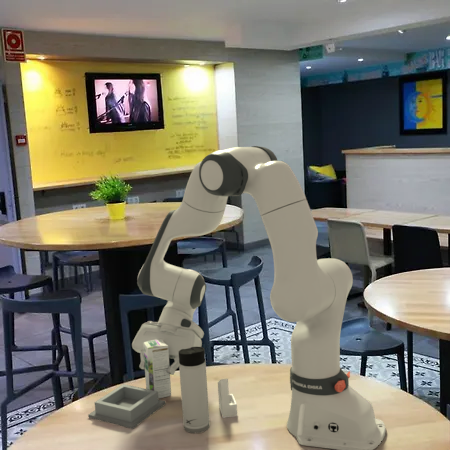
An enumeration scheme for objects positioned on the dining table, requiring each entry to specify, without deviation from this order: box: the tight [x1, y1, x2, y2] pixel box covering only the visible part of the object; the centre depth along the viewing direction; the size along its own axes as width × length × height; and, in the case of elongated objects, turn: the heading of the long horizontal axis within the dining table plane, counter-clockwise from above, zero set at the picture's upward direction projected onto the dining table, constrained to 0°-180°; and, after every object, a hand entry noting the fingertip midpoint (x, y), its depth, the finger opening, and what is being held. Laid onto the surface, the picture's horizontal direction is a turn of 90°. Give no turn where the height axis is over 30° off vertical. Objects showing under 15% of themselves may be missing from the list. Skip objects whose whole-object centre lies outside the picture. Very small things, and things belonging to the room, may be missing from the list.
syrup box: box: [143, 339, 172, 400], centre depth 159 cm, size 6×6×14 cm
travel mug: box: [178, 346, 211, 434], centre depth 140 cm, size 6×7×20 cm
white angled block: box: [217, 378, 238, 419], centre depth 147 cm, size 4×10×9 cm, turn 10°
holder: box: [87, 383, 167, 430], centre depth 151 cm, size 14×14×4 cm
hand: (155, 371), depth 158 cm, fingers closed on syrup box, 8 cm apart
